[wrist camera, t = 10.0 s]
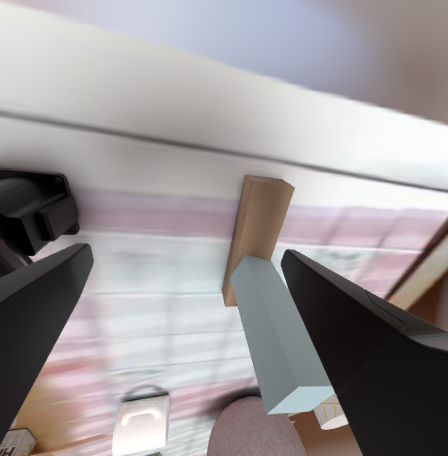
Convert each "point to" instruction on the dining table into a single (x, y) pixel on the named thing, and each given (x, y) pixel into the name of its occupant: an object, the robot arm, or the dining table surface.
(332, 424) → the white cylinder
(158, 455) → the dice cube
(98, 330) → the dining table surface
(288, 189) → the beam
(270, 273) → the post
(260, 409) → the plant pot
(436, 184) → the dining table surface
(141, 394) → the dining table surface
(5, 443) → the coffee box
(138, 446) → the mug
